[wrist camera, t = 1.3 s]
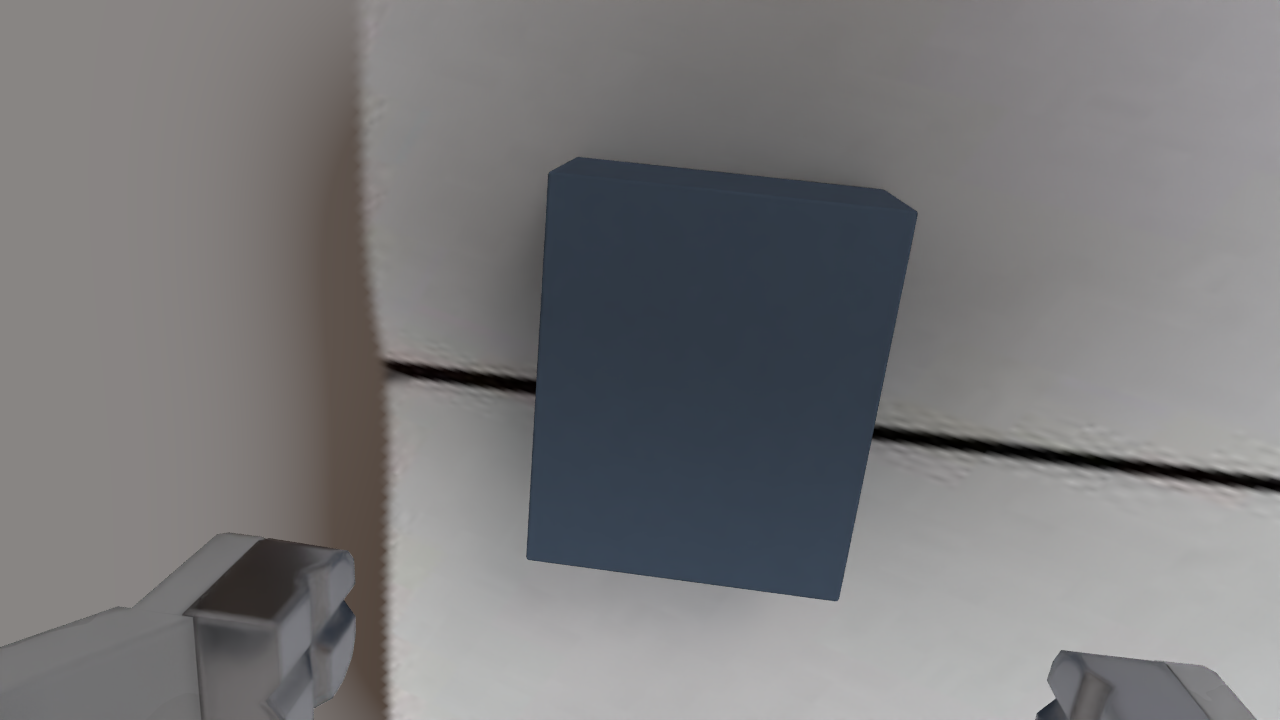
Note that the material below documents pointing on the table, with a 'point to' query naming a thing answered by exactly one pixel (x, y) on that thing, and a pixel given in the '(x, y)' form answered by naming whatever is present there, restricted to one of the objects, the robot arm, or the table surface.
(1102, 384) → the table surface
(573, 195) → the slate pad
